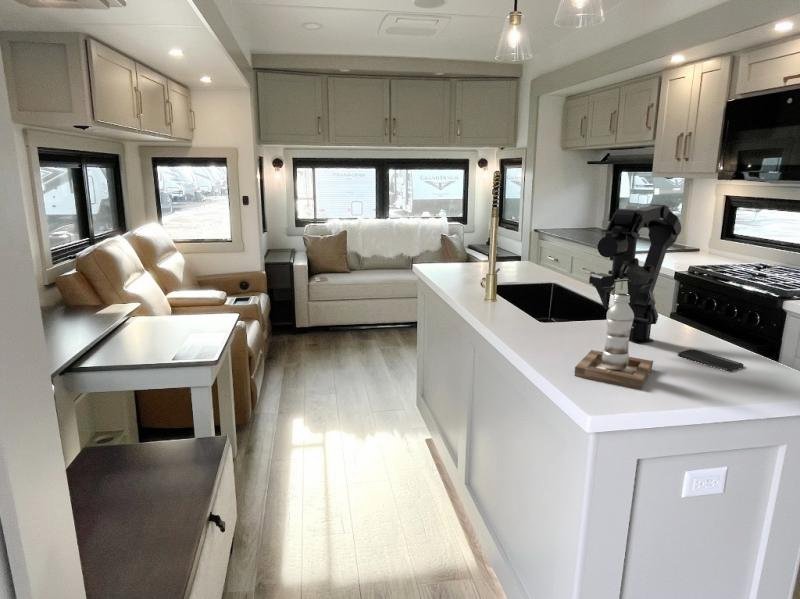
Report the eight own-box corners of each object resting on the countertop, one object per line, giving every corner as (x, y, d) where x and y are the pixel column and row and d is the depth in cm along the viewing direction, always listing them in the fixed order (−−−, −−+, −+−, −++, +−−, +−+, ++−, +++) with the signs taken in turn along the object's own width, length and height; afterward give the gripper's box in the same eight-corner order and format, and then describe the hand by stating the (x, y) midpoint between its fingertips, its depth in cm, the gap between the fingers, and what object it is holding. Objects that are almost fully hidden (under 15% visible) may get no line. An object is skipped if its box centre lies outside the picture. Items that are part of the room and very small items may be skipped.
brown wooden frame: (590, 357, 153) (591, 349, 153) (652, 369, 145) (653, 360, 144) (574, 375, 140) (575, 366, 140) (640, 389, 132) (641, 379, 131)
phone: (692, 348, 159) (745, 364, 146) (691, 352, 159) (744, 368, 147) (675, 353, 155) (729, 369, 143) (675, 357, 155) (728, 373, 143)
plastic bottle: (601, 363, 147) (608, 291, 142) (628, 367, 144) (636, 293, 139) (599, 370, 141) (606, 295, 136) (627, 374, 138) (636, 298, 134)
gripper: (619, 260, 142) (613, 317, 146) (672, 256, 149) (665, 311, 153) (590, 254, 152) (585, 307, 156) (641, 250, 159) (635, 302, 163)
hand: (618, 307), depth 157 cm, fingers open, 9 cm apart
